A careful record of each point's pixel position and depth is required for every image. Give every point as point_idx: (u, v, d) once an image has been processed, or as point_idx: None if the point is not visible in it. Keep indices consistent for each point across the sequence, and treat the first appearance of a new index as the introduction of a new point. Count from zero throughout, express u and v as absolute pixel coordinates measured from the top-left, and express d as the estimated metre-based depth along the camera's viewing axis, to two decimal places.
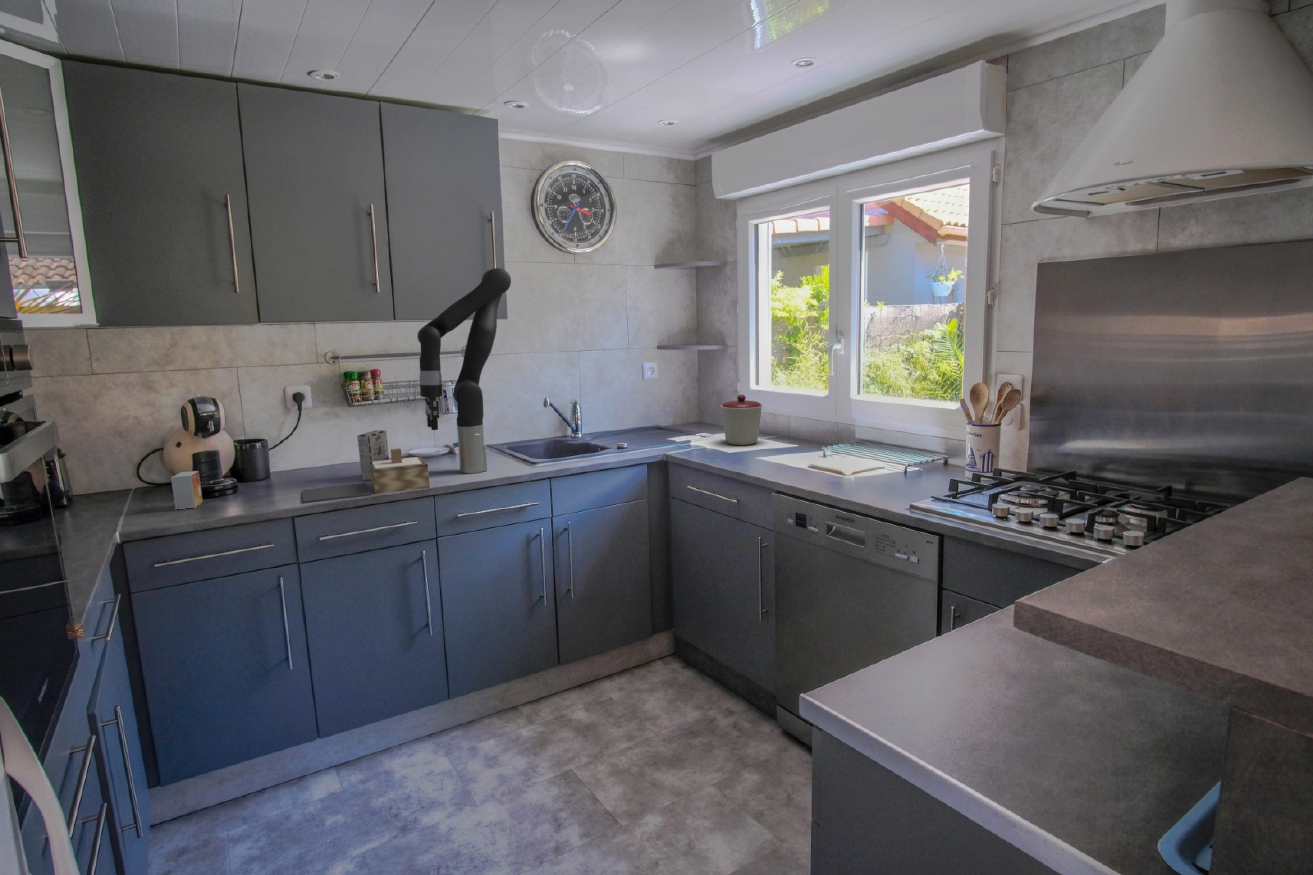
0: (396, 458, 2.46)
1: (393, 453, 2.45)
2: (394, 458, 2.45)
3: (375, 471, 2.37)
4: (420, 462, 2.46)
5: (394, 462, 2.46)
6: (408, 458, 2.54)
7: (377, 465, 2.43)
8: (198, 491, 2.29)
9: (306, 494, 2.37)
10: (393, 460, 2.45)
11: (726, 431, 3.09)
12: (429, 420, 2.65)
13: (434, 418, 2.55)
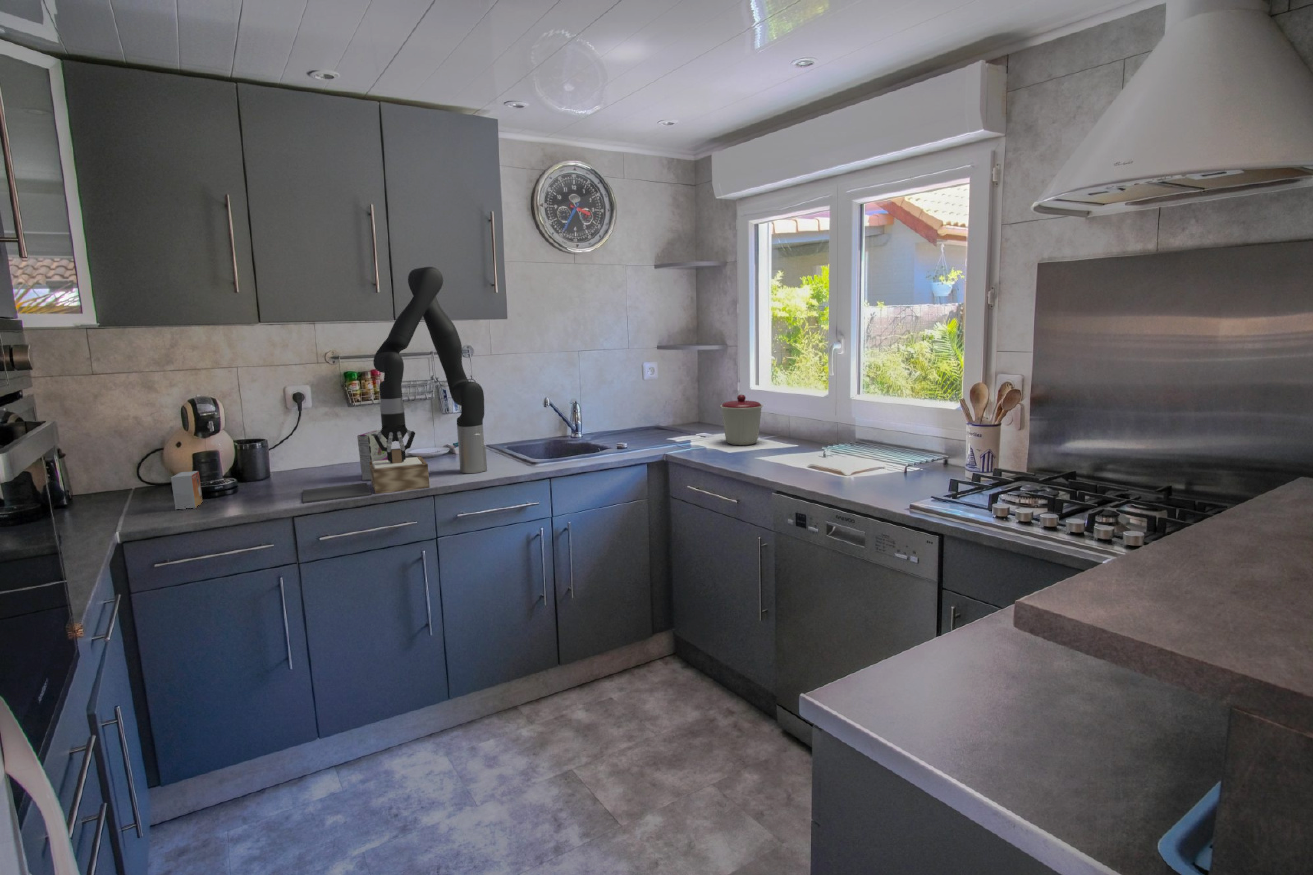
0: (396, 458, 2.46)
1: (393, 453, 2.45)
2: (394, 458, 2.45)
3: (375, 471, 2.37)
4: (420, 462, 2.46)
5: (394, 462, 2.46)
6: (408, 458, 2.54)
7: (377, 465, 2.43)
8: (198, 491, 2.29)
9: (306, 494, 2.37)
10: (393, 460, 2.45)
11: (726, 431, 3.09)
12: (391, 455, 2.46)
13: None
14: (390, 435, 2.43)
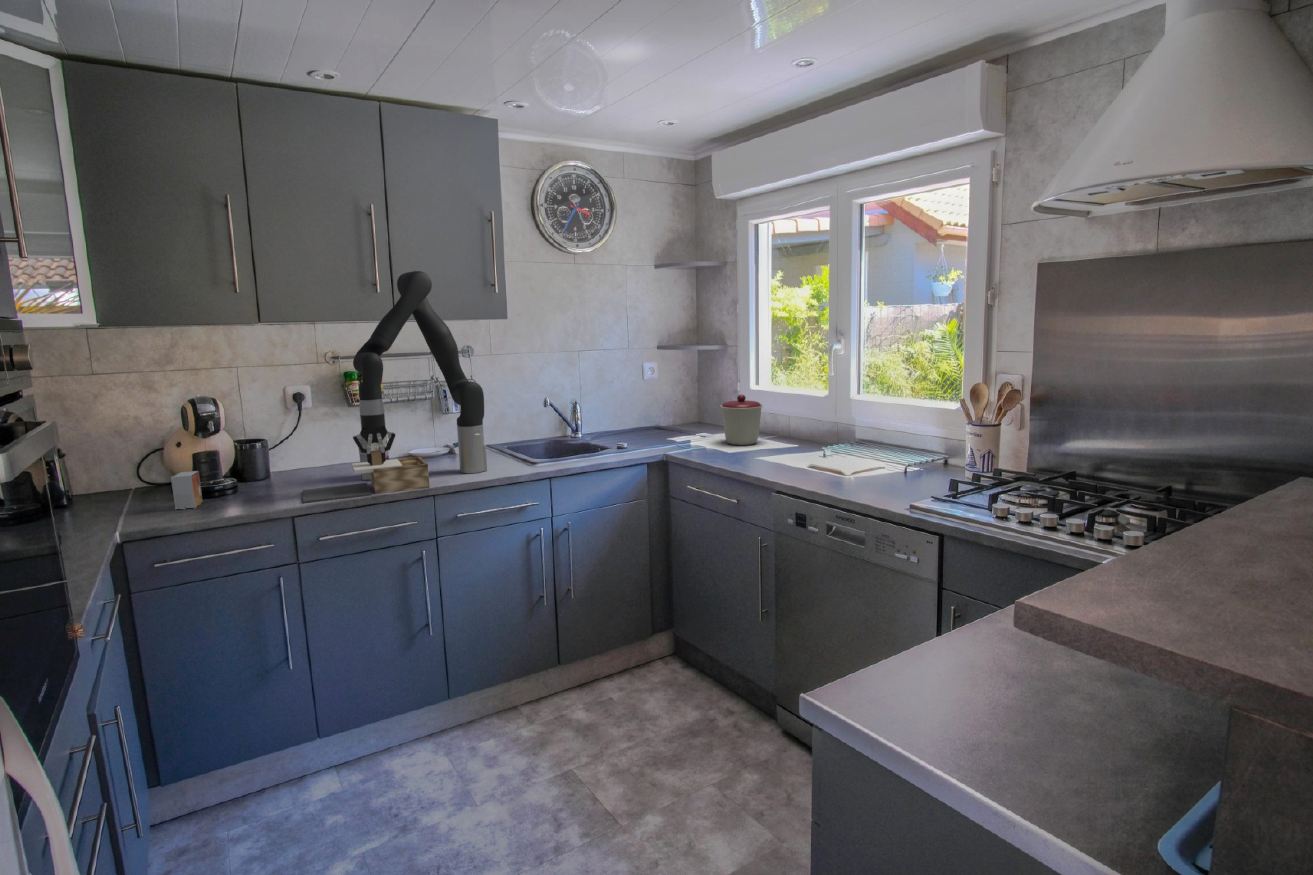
0: (376, 460, 2.43)
1: (373, 455, 2.42)
2: (374, 460, 2.43)
3: (375, 471, 2.37)
4: (400, 464, 2.44)
5: (374, 464, 2.43)
6: (389, 460, 2.51)
7: (356, 467, 2.40)
8: (198, 491, 2.29)
9: (306, 494, 2.37)
10: (373, 462, 2.43)
11: (726, 431, 3.09)
12: (371, 457, 2.43)
13: None
14: (370, 437, 2.41)
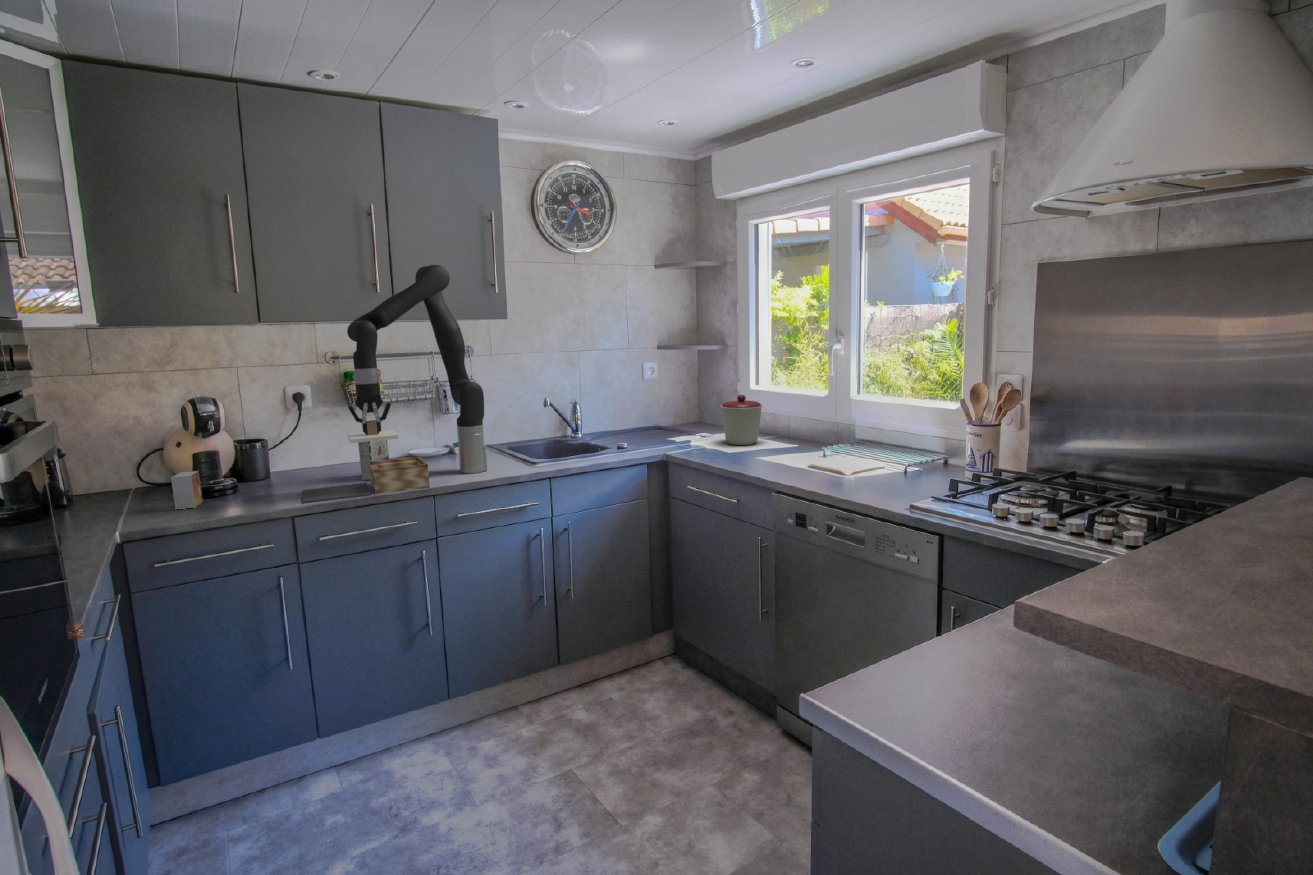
0: (371, 430, 2.41)
1: (368, 425, 2.40)
2: (369, 430, 2.41)
3: (375, 471, 2.37)
4: (396, 434, 2.42)
5: (369, 434, 2.41)
6: None
7: (352, 437, 2.38)
8: (198, 491, 2.29)
9: (306, 494, 2.37)
10: (368, 432, 2.41)
11: (726, 431, 3.09)
12: None
13: (383, 419, 2.43)
14: (365, 406, 2.39)
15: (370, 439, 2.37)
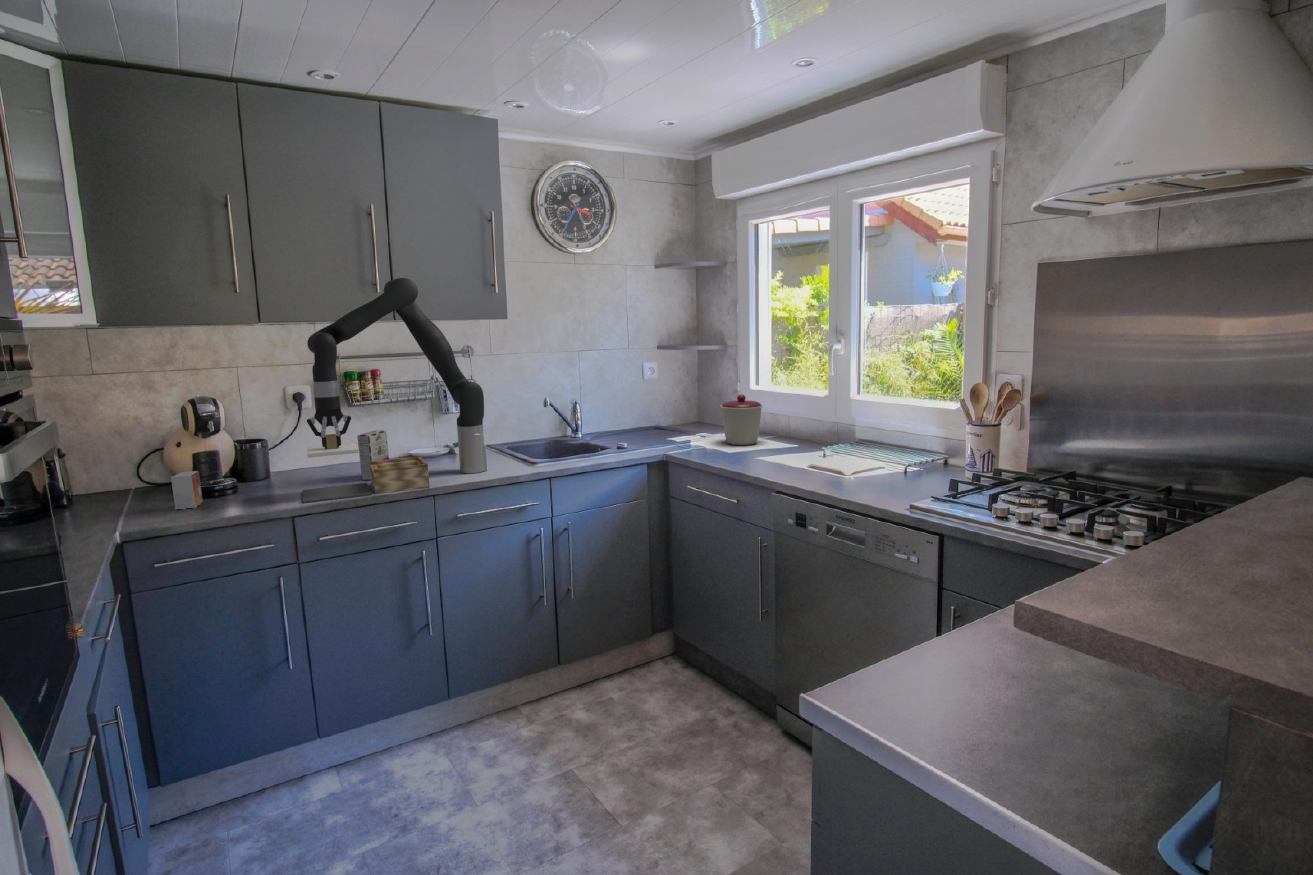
0: (331, 444, 2.36)
1: (327, 439, 2.36)
2: (329, 444, 2.36)
3: (375, 471, 2.37)
4: (356, 448, 2.37)
5: (329, 448, 2.36)
6: (345, 444, 2.45)
7: (310, 451, 2.34)
8: (198, 491, 2.29)
9: (306, 494, 2.37)
10: (328, 446, 2.36)
11: (726, 431, 3.09)
12: None
13: (343, 433, 2.39)
14: (324, 419, 2.34)
15: (328, 453, 2.32)
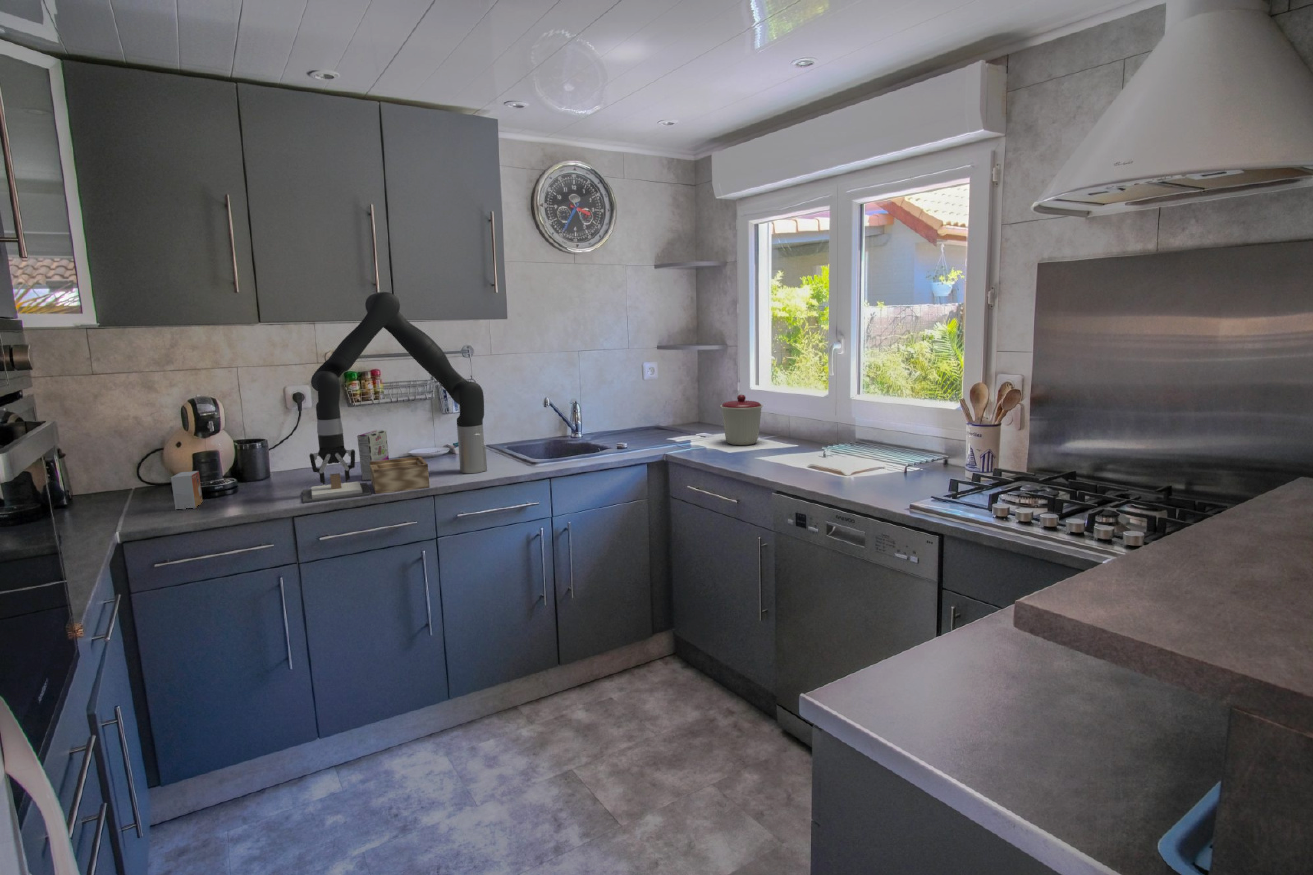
0: (335, 484, 2.39)
1: (332, 478, 2.38)
2: (333, 484, 2.38)
3: (375, 471, 2.37)
4: (360, 488, 2.39)
5: (333, 488, 2.38)
6: (349, 483, 2.47)
7: (315, 491, 2.36)
8: (198, 491, 2.29)
9: (306, 494, 2.37)
10: (332, 486, 2.38)
11: (726, 431, 3.09)
12: (324, 476, 2.38)
13: None
14: (327, 457, 2.36)
15: (333, 494, 2.34)
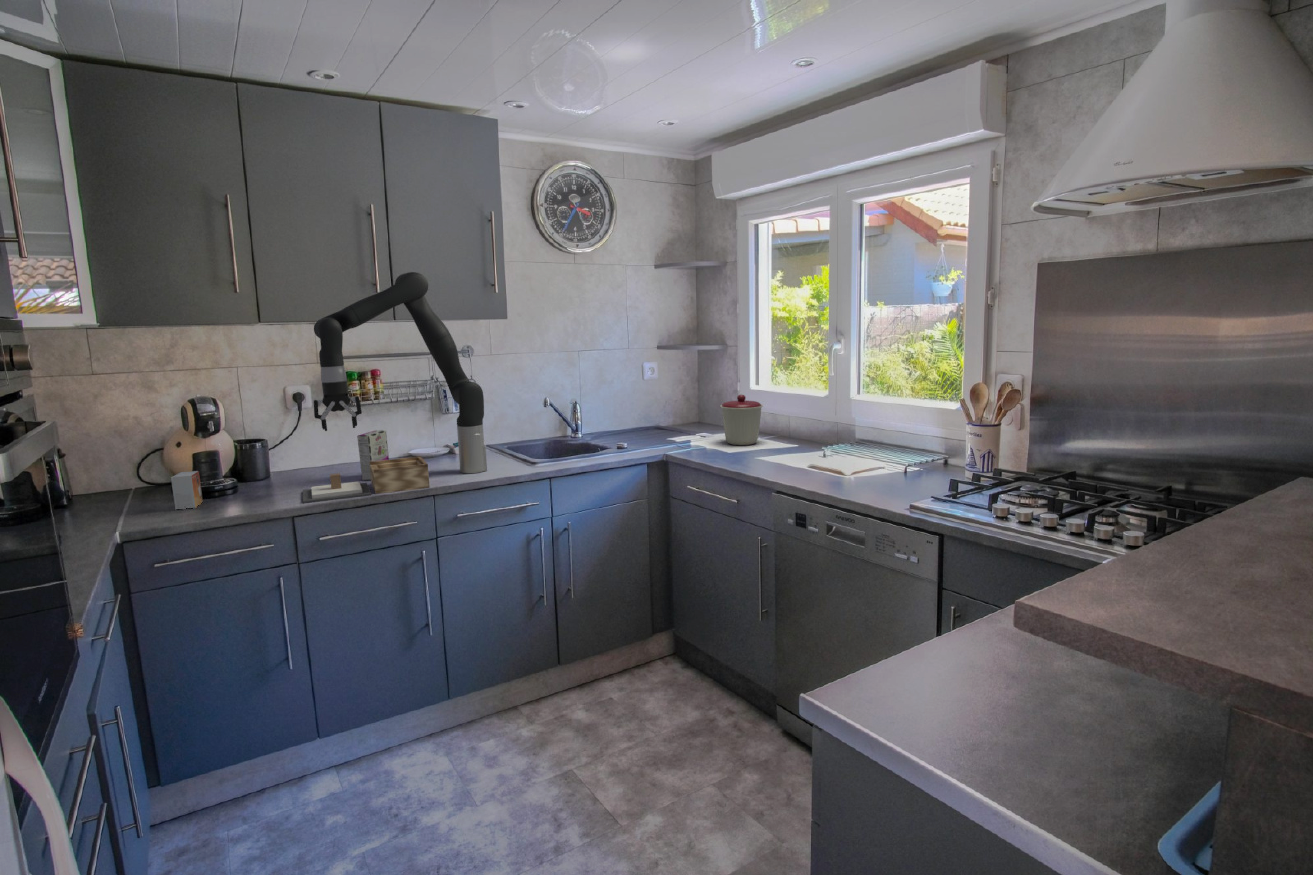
0: (335, 484, 2.39)
1: (332, 478, 2.38)
2: (333, 484, 2.38)
3: (375, 471, 2.37)
4: (360, 488, 2.39)
5: (333, 488, 2.38)
6: (349, 483, 2.47)
7: (315, 491, 2.36)
8: (198, 491, 2.29)
9: (306, 494, 2.37)
10: (332, 486, 2.38)
11: (726, 431, 3.09)
12: None
13: None
14: (331, 404, 2.36)
15: (333, 494, 2.34)
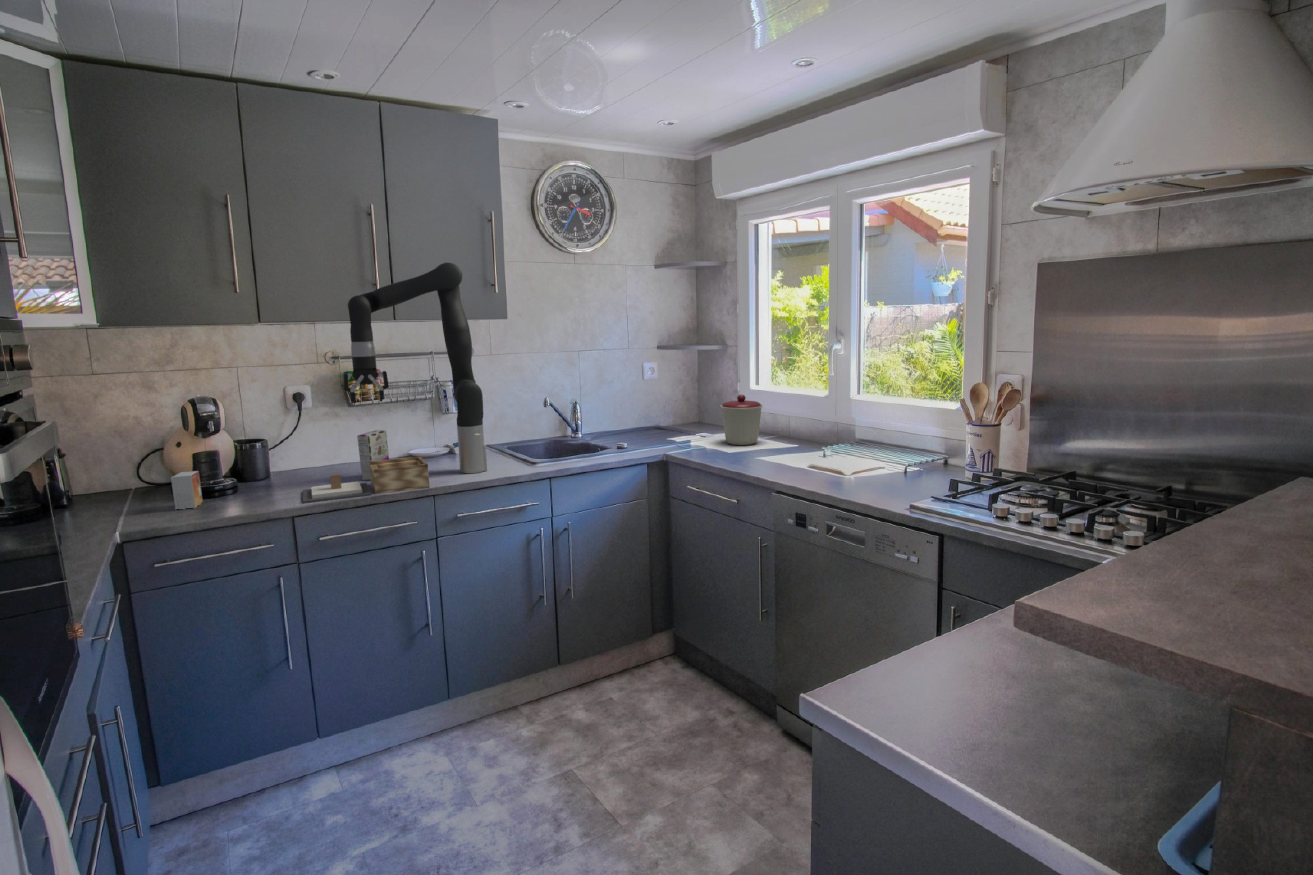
0: (335, 484, 2.39)
1: (332, 478, 2.38)
2: (333, 484, 2.38)
3: (375, 471, 2.37)
4: (360, 488, 2.39)
5: (333, 488, 2.38)
6: (349, 483, 2.47)
7: (315, 491, 2.36)
8: (198, 491, 2.29)
9: (306, 494, 2.37)
10: (332, 486, 2.38)
11: (726, 431, 3.09)
12: None
13: None
14: (360, 377, 2.48)
15: (333, 494, 2.34)
